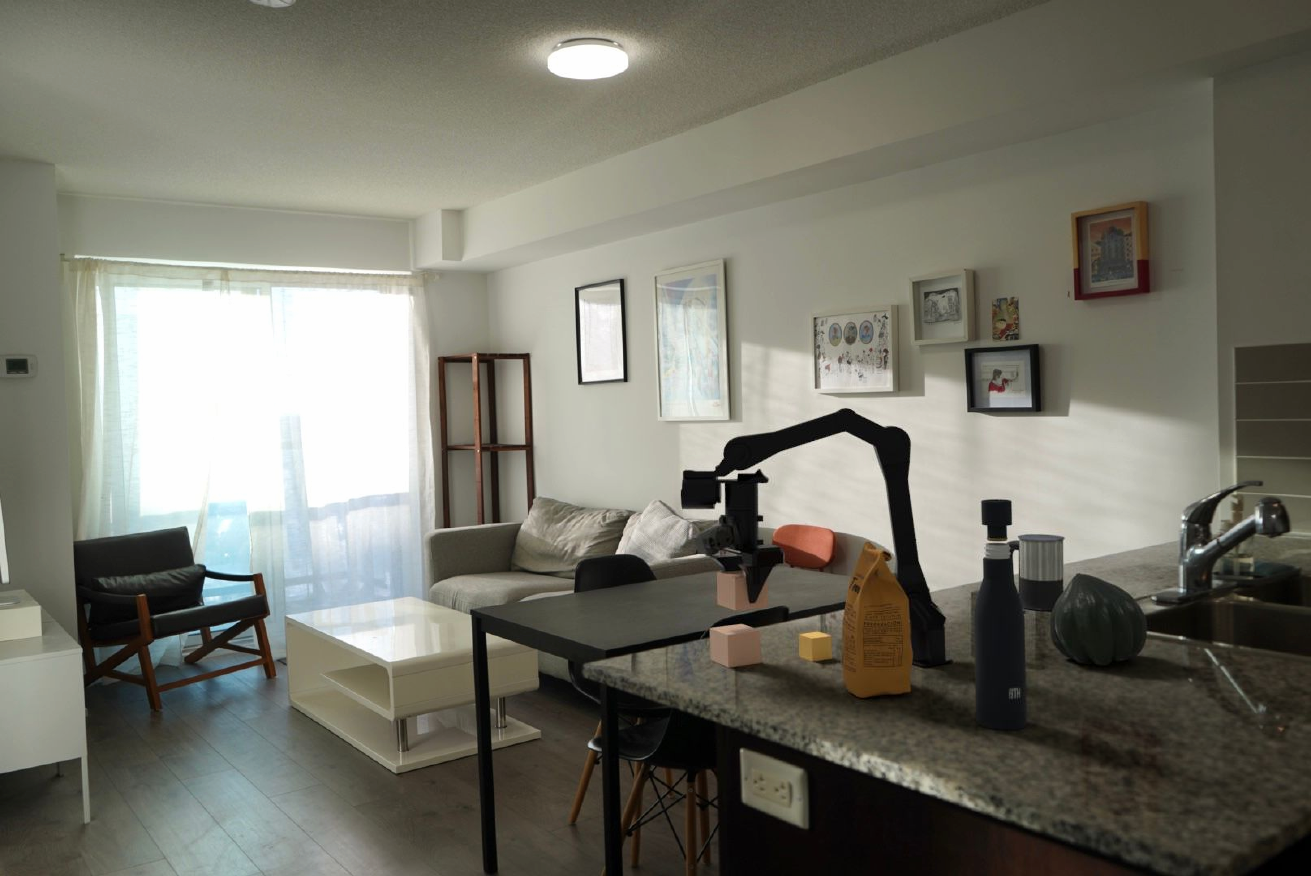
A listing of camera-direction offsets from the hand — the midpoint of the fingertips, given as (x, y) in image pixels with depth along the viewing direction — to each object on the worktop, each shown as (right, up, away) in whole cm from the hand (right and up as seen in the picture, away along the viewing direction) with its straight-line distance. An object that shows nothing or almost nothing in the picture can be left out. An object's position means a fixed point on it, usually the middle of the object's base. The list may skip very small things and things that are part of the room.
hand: (742, 599), depth 173 cm
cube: (+13, -10, +1) cm, 16 cm away
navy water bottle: (+32, -11, -38) cm, 50 cm away
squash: (+58, -9, -7) cm, 59 cm away
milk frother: (+62, -8, +36) cm, 72 cm away
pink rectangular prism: (0, -1, 0) cm, 1 cm away
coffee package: (+19, -11, -19) cm, 29 cm away
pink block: (-1, -11, 0) cm, 11 cm away
